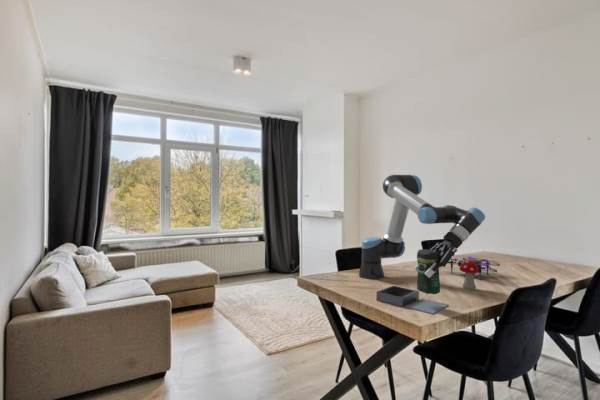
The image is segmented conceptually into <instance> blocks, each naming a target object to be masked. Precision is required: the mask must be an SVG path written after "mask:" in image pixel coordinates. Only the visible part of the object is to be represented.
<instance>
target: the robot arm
mask: <svg viewBox="0 0 600 400" xmlns="http://www.w3.org/2000/svg"><path fill="white" fill-rule="evenodd" d="M422 189H423V185H422V180H421V179H420V178H419V177H418V176H417V175H414V174H413V175H412V174H391V175H388V176H387V177H386V178H385V179H384V180H383V182H382V190H383V192H384V193H385V194H386V196H387V197H389V198H390V199H395V202H394V205H393V209H392V213H391V217H390V221H389V224H388V225H389V226H388V229H387V231H386V233H385V234H384V235H383V239H382V238H381V237H378V236H374V237H373V236H372V237H367V238H364V239H362V241H361V265H360V268H359V271H358V276H359V277H360V278H363V279H368V280H369V279H370V280H371V279H372V280H378V279H383V278H385V272H384V268H383V265H382V259H391V258H393V259H394V258H395V259H396V258H400V257H401V256H403V255H404V253H405V252H406V246H405V241H404V238H403V237H402V235H403V232H404V228H405V224H406V221H407V218H408V215H409V214H408V213H409V210H410V211H412V212H413V213H414V214H416V215H417V218H418V219H417V220H418V221H419V222H420V223H421V224H425V225H433V224H454V225H453V226H452V227H451V228H450V229H449V231H447V233H445V235H443V241H442V242H440V241H437V242H436V243H435V245H433V246H432V247H431V248H430V249H429V250H432V251H436V252H438V253H439V254H440V256H439V258H438V260H437V261H435V262H436V263H437V264H436V263H434V264H433V265H432V266H431V267H430V268H429V269H428V270H427V271H426V272H425V273H424V274H425V275H426V276H427V277H428V278H430V277H431V276H432V275H433V274H434V273H435V272H436V271H437V270H438V269H439V270H440V268H442V267H444V268H445V267H446V265H448V264H447V263H448V262H450V261H451V260H450V259H451V258H452V257H454V255H455V253H457V252H458V249H459V248H460V246H461V245H463V242H465V241H467V240H468V238H469V237H470V236H471V235H472V234H473V233H474V232H475V231H476V230H477V229H478V227H479V226H481V225H482V223H483V222H484V221H485V220H486V215H485V213H484V212H483V211H482V210H480V209H479V208H477V207H470V208H469V209H468V210H466V209H463V208H460V207H458V206H454V205H449V204H446V205H445V204H444V206H438V207H437V206H433V204H431V203H428V202H427V201H425V200H424V199H423V198H421V197H419V195H420V194H421V192H422ZM414 270H415V271H416V272H417V273H418V264H417V265H416V266H415V267H414Z"/></svg>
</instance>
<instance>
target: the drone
mask: <svg viewBox="0 0 600 400" xmlns="http://www.w3.org/2000/svg"><path fill="white" fill-rule="evenodd" d="M466 260H470V261H473V262H474V263H476V265H477V267H478V268H479V273H478V274H479V275H478V277H479V278H478V279H479V281H482V271H485V272H486V276H489V271H492V273H494V272H495V273H498V270H497V269H495V268H493V267H492V266H496V267H500V266H501V264H500V263H499V262H497V261H495V260H491V259H490V260H489V259H487V258H479V257H478V256H477V257H472V256H468V257H462V260H461V259H460V260H459V259H458V258H452V257H451V259H450V260H449V262H448V263H447V264H446V265H450V274H453V268H454V265H456V266H458V267H459V268H460V266H461V264H462V263H463V262H464V261H466ZM475 275H476V273H473V277H474V276H475Z"/></svg>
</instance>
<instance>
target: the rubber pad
mask: <svg viewBox="0 0 600 400" xmlns="http://www.w3.org/2000/svg"><path fill="white" fill-rule="evenodd" d="M449 304H450V303H449ZM449 304H448V303H445V302H444V303H443V302H439V301H435V300H432V299H425V298H421V299H419V300H417V301H415V302H413V303H410V304H408V305H406V306H405V307H406V309H411V310H414V311H418V312H423V313H426V314H431V315H434V313H435V314H437V313H438V312H440V311H441V310H443V309H445V308H447V307H449Z"/></svg>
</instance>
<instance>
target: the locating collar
mask: <svg viewBox="0 0 600 400" xmlns="http://www.w3.org/2000/svg"><path fill="white" fill-rule="evenodd" d="M419 300H420V291H419V290H416V289H415V290H414V289H412V288H406V287H403V286H402V287H401V286H397V285H391V286H389V287H386V288H383V289H380V290H378V291H376V301H377V302H382V303H385V304H389V305H393V306H398V307H401V308H404V307H406V306H408V305H410V304H412V303H414V302H416V301H419Z"/></svg>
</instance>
